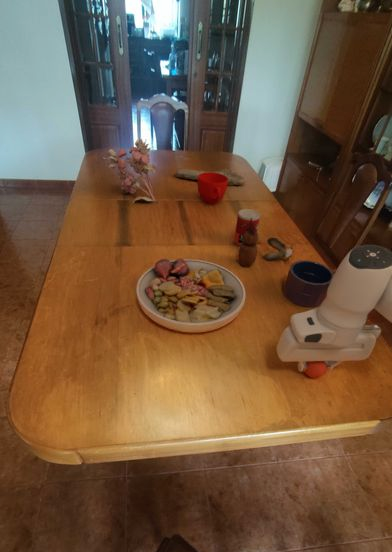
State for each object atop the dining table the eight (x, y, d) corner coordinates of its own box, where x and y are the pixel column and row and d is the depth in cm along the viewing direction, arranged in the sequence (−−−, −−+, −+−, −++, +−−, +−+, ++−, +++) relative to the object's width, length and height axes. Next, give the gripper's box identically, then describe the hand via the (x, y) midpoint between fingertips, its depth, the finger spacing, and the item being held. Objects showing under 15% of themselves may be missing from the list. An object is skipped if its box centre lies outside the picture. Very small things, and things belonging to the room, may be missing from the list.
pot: (316, 282, 102) (325, 260, 96) (330, 307, 93) (341, 285, 88) (278, 282, 101) (285, 260, 95) (289, 307, 92) (297, 284, 86)
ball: (317, 365, 77) (325, 351, 73) (325, 382, 74) (333, 368, 70) (298, 366, 77) (304, 352, 73) (304, 382, 73) (311, 368, 70)
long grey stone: (178, 175, 165) (173, 183, 159) (177, 164, 161) (173, 171, 155) (245, 180, 161) (243, 188, 155) (246, 169, 157) (245, 176, 151)
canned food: (237, 249, 114) (242, 219, 106) (230, 238, 119) (235, 208, 111) (257, 248, 115) (263, 218, 107) (250, 237, 120) (255, 208, 112)
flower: (169, 185, 147) (143, 125, 131) (173, 200, 130) (144, 133, 114) (131, 205, 150) (101, 149, 134) (131, 221, 134) (96, 159, 117)
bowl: (263, 305, 92) (269, 283, 86) (189, 357, 76) (191, 333, 71) (191, 262, 105) (192, 240, 100) (115, 298, 90) (112, 275, 84)
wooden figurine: (236, 257, 109) (243, 214, 99) (252, 259, 110) (262, 216, 99) (237, 268, 105) (245, 224, 94) (254, 269, 105) (264, 226, 94)
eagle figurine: (288, 249, 114) (264, 242, 113) (297, 239, 107) (272, 231, 106) (284, 268, 112) (260, 261, 111) (293, 260, 105) (268, 252, 104)
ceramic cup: (202, 212, 133) (204, 187, 126) (193, 196, 144) (194, 172, 137) (231, 211, 136) (235, 186, 129) (220, 195, 147) (223, 172, 140)
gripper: (377, 314, 67) (350, 358, 77) (284, 315, 65) (268, 359, 75) (392, 335, 63) (361, 378, 73) (292, 336, 61) (275, 380, 71)
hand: (313, 369), depth 74 cm, fingers closed on ball, 5 cm apart
